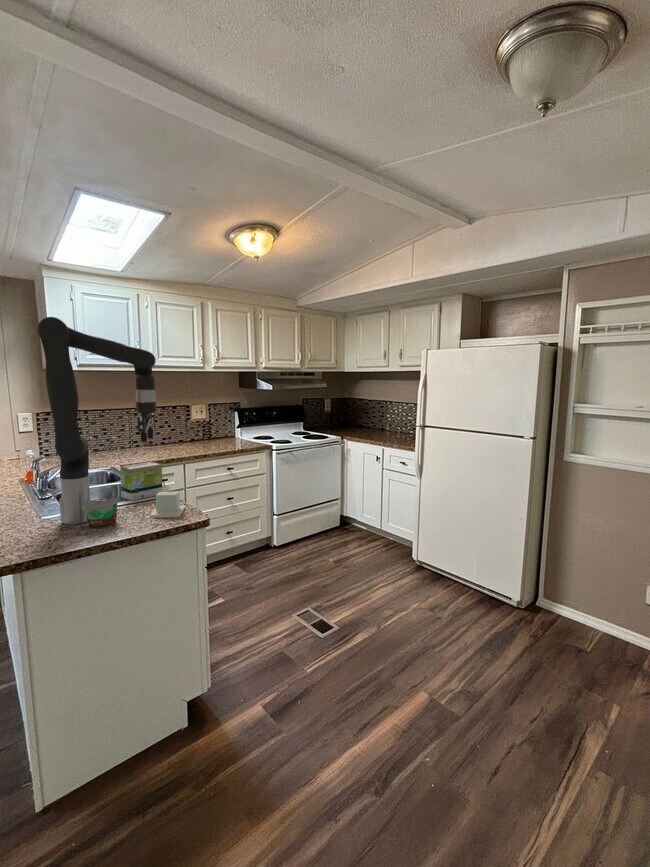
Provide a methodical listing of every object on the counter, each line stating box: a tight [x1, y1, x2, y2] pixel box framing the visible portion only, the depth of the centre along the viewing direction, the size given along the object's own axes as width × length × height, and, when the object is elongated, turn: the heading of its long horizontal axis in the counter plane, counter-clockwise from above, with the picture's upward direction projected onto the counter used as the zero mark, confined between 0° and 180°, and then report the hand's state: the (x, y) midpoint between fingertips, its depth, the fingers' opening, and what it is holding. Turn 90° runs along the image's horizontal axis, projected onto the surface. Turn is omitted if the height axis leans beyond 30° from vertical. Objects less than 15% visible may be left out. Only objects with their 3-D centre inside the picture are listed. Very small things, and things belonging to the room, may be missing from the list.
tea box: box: [119, 461, 163, 501], centre depth 189 cm, size 15×10×15 cm, turn 143°
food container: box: [82, 496, 120, 529], centre depth 151 cm, size 12×6×10 cm, turn 105°
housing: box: [155, 491, 181, 512], centre depth 166 cm, size 8×5×7 cm, turn 97°
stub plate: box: [149, 505, 186, 519], centre depth 167 cm, size 11×11×4 cm
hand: (147, 440), depth 169 cm, fingers open, 8 cm apart
